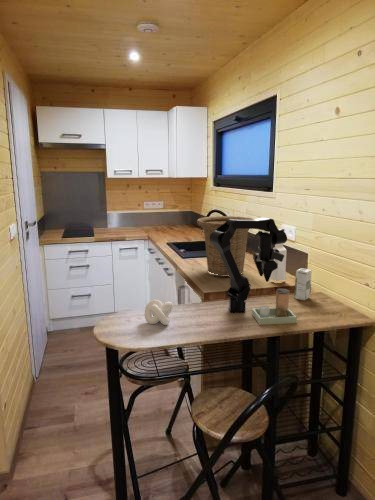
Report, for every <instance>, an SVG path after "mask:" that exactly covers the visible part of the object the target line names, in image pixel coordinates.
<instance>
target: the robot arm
mask: <svg viewBox="0 0 375 500" xmlns="http://www.w3.org/2000/svg"><path fill="white" fill-rule="evenodd" d="M236 229H249V230H250V229H251V230H258V232H257V233H255V234H254V235H255V237H259V239H258V246H257V250H258V253H254V254H253V255H252V260H253V262H254V264H255V266H256V269H257V272H258V274H259V276H260V277H263V278H264V281H265V282H267V283H268V282H270V276H271V273H272V271H273V270H276V268H278V264H277V263H276V262H275V261H274V259H276V260H279V261H280V262H282V260H283V258H284V255H283V254H281V253H279V250H277V249H273V248H274V247H273V245H274V246H275V244H283V245H284V244H285V243H287V241H288V236H287V234H286V232H285V229H283V228H278V226H277V225H276V222H275V220H274V219H273V218H270V217H269V218H268V217H265V216H264V217H258V218H255V220H233V219H229V220H227V221H226V222H225V223H224V224H223V225H221V226H219V227H218V228H217V229H216V230H215V231H213V232H212V233H211V235H210V237H209V239H210V242H211V243H212V245H213V246H214V247H215V248H216V249H217V250H218V251H219V253H220V255H221V257H222V260H223V262H224V264H225V267H226V269H227V271H228V273H229V276H230V282H229V285H230V287H229V288H228V289H227V291H226V293H225V294H226V296H227V297H228V308H227V309H228V311H229V313H230V314H244V313H246V301H247V299H248V296H249V294H250V291H251V286H252V285H251V284H250V282H249V278H248V277H246V276H244V275H241V274H240V272H239V269H238V267H237V265H236V262H235V260H234V258H233V255H232V253H231V250H230V245H231V243H230V239H231V238H232V237H233V235H234V233H235V230H236ZM226 231H227V232H226ZM224 232H226V233H224ZM229 276H228V277H229Z"/></svg>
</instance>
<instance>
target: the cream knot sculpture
mask: <svg viewBox="0 0 375 500" xmlns="http://www.w3.org/2000/svg"><path fill="white" fill-rule="evenodd" d="M173 307H174V306H173V302H171V301H166V302H162V301H160V300H159V299H151V300H150V301H148V303H147V304H146V306H145V307H144V308H145V309H144V319H145V322H147V323H148V324H149V325H156V324H157V323H159V322H160V323H161V324H162V325H164V326H167V325H169V324H170V317H169V315H170V314H171V312H172V310H173Z"/></svg>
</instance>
